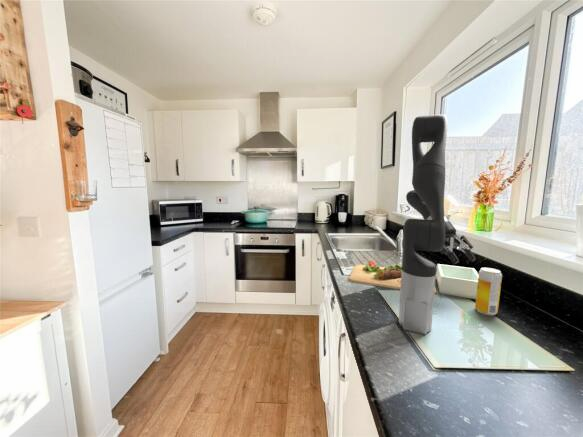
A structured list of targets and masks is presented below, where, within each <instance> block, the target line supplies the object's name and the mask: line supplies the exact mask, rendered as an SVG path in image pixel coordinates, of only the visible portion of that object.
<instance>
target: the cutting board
mask: <svg viewBox="0 0 583 437" xmlns="http://www.w3.org/2000/svg"><path fill="white" fill-rule="evenodd" d="M401 274H402V264H399V263H397V264H395V265H394V266H393V265H391V264H388V265H387V267H383V266H377V263H376V262H374V261H373V260H370V261H369V262H368V263H367V264H355V266H354V267H353V270H352V271H351V273H350V275H349V277H348V281H350V282H351V283H355V284H361V283H362V285H368V286H375V287H381V288H389V289H395V290H400V289H401ZM436 294H437V289H436V288H435V290H434V295H436Z"/></svg>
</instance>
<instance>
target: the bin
mask: <svg viewBox="0 0 583 437" xmlns="http://www.w3.org/2000/svg"><path fill="white" fill-rule="evenodd" d="M478 276H479V272H478V271H477V270H476V269H475V268H474V267H465V266H459V265H458V266H457V265H449V264H443V263H442V264H440V263H437V265H436V279H435V280H436V282H437V287H438V291H439V292H438V293H439V294H444V295H449V296H454V297H461V298H467V299H471V300H472V299H473V300H476V295H477V286H478Z"/></svg>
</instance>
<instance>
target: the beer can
mask: <svg viewBox="0 0 583 437" xmlns="http://www.w3.org/2000/svg"><path fill="white" fill-rule="evenodd" d="M478 274H479V276H478V286H477V295H476V299H475V305H474V306H475V309H476V311H477V313H480V314H482V315H485V316H486V315H487V316H496V315H497V314H498V312H499V307H500V306H499V305H500V298H501V297H500V296H501V288H502V280H503V273H502V272H501V270H500V269H496V268H492V267H481V268H480V270H479V271H478Z"/></svg>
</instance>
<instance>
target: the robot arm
mask: <svg viewBox="0 0 583 437" xmlns="http://www.w3.org/2000/svg"><path fill="white" fill-rule="evenodd" d="M447 135H448V118H447V116H446V115H444V114H432V115H431V114H430V115H420V116H417V117H415V118H414V120H413V123H412V127H411V151H412V152H411V154H412V155H411V156H412V175H411V176H412V178H411V184H412V187H413V190H412V189H411V190H409V191H407V193H406V196H405V198H406V201H407V203H408V205H409V206H410V207H411V208H413V209H414V210H415V211H417V212H418V213H419V214H420V215H421V216H422V218H423V219H421V218H408V219H406V220H405V222H404V224H403V229H402V230H403V231H402V246H403V247H402V261H401V262H402V264H401V266H402V274H401V289H399V290H400V291H399V292H400V293H399V308H398V323H399V325H400V326H401V327H402V328H403V330H405V331H410V332H414V333H417V334H418V333H419V334H422V335H427V333H429V332H430V331H431V330H432V326H433V325H432V324H433V316H434V315H433V313H434V312H433V311H434V300H435V294H434V290H435V289H436V287H435V286H436V280H437V279H436V276H437V265H436V264H435V263H434V262H433V261H431V260H428V259H426V258H424V257H422V256H420V255H419V254H417V253H416V251H425V252H433V253H437V252H438V253H440V254H441V255H443V254H445V255H446V256H447V257H448V259H450V261H451V262H452V264H454V265H455V264H458V263H459V262H460V259H459V257H458V256H457V255H456V253H455V252H454V251H453V249H456V250H458V251H462V253H464V255H465V257H467V259H468V260H469V262H474V261H475V260H477V258H476V256H475V254H474V253H473V252H472V250H473V248H474V245H473V244H472V243H471V242H470V240H468V239H467V238H466V236H465V235H461V236H458V235H457V230H456V227H455V226H454V225H453V224H452V222H451V221H450V220H449V218H448V217H447V216H446V214H445V188H446V186H445V185H446V145H447V144H446V143H447ZM421 143H433V144H432V146H431V147H430V149H428V151H426V153H424V151H423V148H422V144H421ZM415 250H416V251H415Z"/></svg>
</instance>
